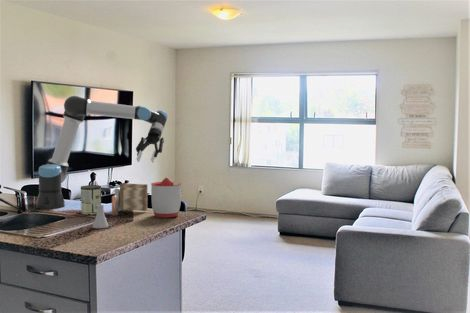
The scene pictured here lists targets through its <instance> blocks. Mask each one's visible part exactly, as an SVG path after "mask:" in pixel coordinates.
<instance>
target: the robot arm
mask: <svg viewBox="0 0 470 313" xmlns="http://www.w3.org/2000/svg"><path fill="white" fill-rule="evenodd" d="M63 109H64V111H63V114H62V117H63V119H64V121H63V124H62V127H61V130H60V133H59V136H58V139H57V142H56V146H55V149H54V152H53V155H52V158H50V159H48V160H47V163H46V164H42V165H40V166H39V167H38V171H37V172H38V195H37V199H36V203H35V208H37V209H42V210H47V209H48V210H51V209H52V210H53V209H61V208H63V207H66V204H65V199H64V196H63V194H62V183H63V182H64V181H65V180H66V178H67V174H68V169H69V163H68V161H69V158H70V154H71V151H72V148H73V144H74V142H75V138H76V136H77V133H78V129H79V126H80V124H82V123H83V122H84V121H85V117H89V115H92V116H93V115H94V116H99V117H100V116H102V117H109V118H110V117H112V118H120V119H121V118H122V119H131V120H138V121H144V122H147V123H149V124H151V125H150V128H149V130H148V133H147V136H146V137H141V138H140V141H139V143H138V144H137V146H136V148H135V151H136V153H137V154H136V161H137V163H139V162H141V161H140V160H141V158H142V155H143V152H144V150H145V149H147V147H148V146H150V145H153V146H154V149H155V150H153V152H152V155H151V158H150V160H151V161H150V162H151V163H155V160H156V158H157V157H158V155H159V154H161V153H162V152H163V145H164V142H165V139H164V137H162V134H163V131H164V128H165V125H166V123H167V120H168V113H167V112H166V111H164V110H160V109H159V110H157V111H154V110H151V109H150V108H148V107H147V106H141V105H127V104H121V103H110V102H103V101H93V100H91V99H89V98H84V97H80V96H77V95H71V96H69V97H67V98H66V100H65V101H64V103H63ZM158 143H159V145H158Z"/></svg>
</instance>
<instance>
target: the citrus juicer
mask: <svg viewBox="0 0 470 313" xmlns="http://www.w3.org/2000/svg"><path fill="white" fill-rule="evenodd" d="M150 186H151V192H150V193H151V196H150V197H151V198H150V199H151V207H152V211H153V212H152V213H153V214H154V217H157V218H163V219H168V218H174V217H177V216H178V215H179V213H180V208H181V203H182V192H183V189H182V183H181V182H180V183H178V184H175V185H174V181H171V180H170V179H169V178H168V177H165V178H164V179H163V180H162V181H156V182H152V183H150Z"/></svg>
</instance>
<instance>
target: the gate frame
mask: <svg viewBox="0 0 470 313" xmlns="http://www.w3.org/2000/svg"><path fill="white" fill-rule="evenodd" d="M118 212H121V210H120V188H114V195H111V216H114V217H115V216H118Z"/></svg>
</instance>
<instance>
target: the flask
mask: <svg viewBox="0 0 470 313" xmlns="http://www.w3.org/2000/svg"><path fill="white" fill-rule="evenodd" d="M104 207H105V205H103V204H101V205H97V214H95V218H94V221H93V224H92V228H93V229H107V228H108V227H109V223H108V221H107V218H106V216H105V212H104Z"/></svg>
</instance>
